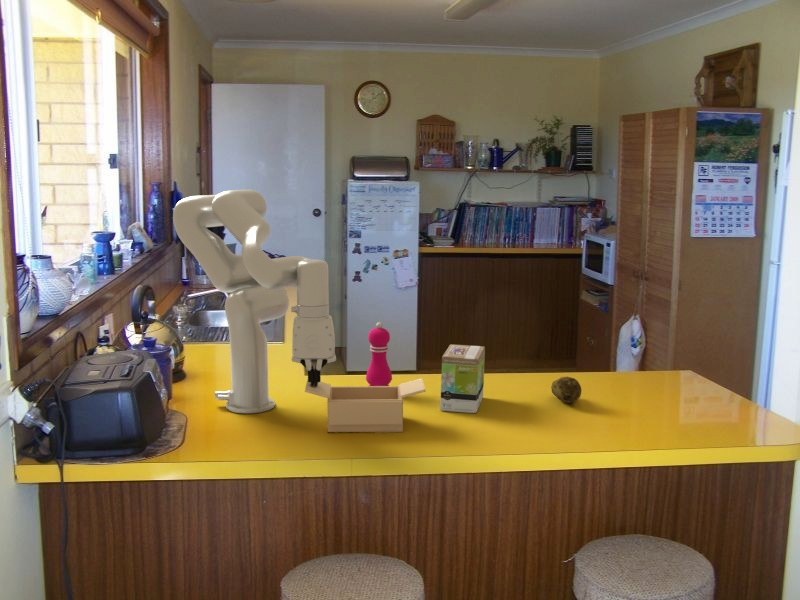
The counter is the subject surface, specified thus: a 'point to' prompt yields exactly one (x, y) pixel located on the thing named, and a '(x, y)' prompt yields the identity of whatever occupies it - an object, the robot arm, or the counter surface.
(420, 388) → the right flap
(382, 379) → the pepper mill
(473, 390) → the tea box
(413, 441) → the counter surface
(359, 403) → the carton
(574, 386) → the potato
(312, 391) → the left flap
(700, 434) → the counter surface
